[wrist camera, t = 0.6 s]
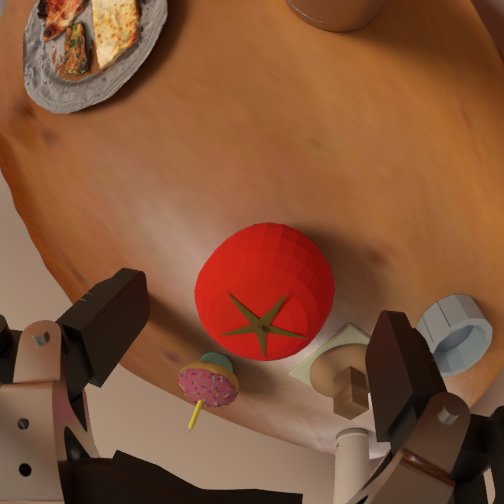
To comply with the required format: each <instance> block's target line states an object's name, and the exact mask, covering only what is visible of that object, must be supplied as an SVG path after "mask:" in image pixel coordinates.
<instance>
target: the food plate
mask: <svg viewBox="0 0 504 504" xmlns="http://www.w3.org/2000/svg"><path fill="white" fill-rule="evenodd" d="M167 13H168V11H167V0H89V1H88V2H87V3H86V0H36V2H35V6H34V8H33V9H32V10H31V12H30V15H29V20H28V23H27V25H26V28H25V30H24V35H23V36H24V37H23V39H24V41H23V60H24V61H23V64H24V65H23V71H24V74H23V75H24V84H25V87H26V90H27V93H28V94H29V96H30V97H31V98H32V99H33V101H34V102H36V103H37V104H38V105H39V106H41V107H43V108H45V109H46V110H48V111H51V112H52V113H62V114H63V113H68V114H69V113H71V112H75V111H78V110H81V109H83V108H86V107H89V106H91V105H93V104H96V103H98V102H99V101H100V102H101V101H103V100H105V99H107V98H110V97H111V96H112V95H113V94H115V92H116V91H117V90H119V89H120V88H121V87H122V85H123V84H124V83H126V82H127V80H129V78H131V76H132V75H133V74H134V73H135V71H137V70H138V69H139V67H140V66H141V65H142V64H143V62H144V61H145V58H147V57H148V54H149V53H150V51H151V50H152V48H153V47H154V45H155V42H156V40H157V39H158V37H159V34H160V32H161V30H162V27H163V25H164V23H165V21H166V19H167ZM92 39H93V40H94V42H95V44H96V48H97V50H96V53H97V57H98V62H99V64H100V68H99V69H100V70H101V71H99V72H97V73H95V74H92V75H90V76H87V77H86V78H82V79H81V80H79V81H71V80H66V79H64V78H63V79H60V78H59V75H58V74H59V71H58V73H57V74H55V68H54V67H56V66H55V65H54V64H53V63H52V64H51V62H53V60H52V58H51V57H52V54H53V53H54V50H56V49H57V55H56V54H55V55H56V63H57V61H58V60H59V62H58V63H60V54H61V55H62V57H63V56H64V59H62V60H63V61H64V63H63V62H61V63H60V65H61V64H62V63H63V64H64V66H63V70H64V73H65V74H67V75H69V73H70V74H73V76H79V75H82V74H83V73H85V72H86V71H87V70H88V68H87V67H88V61H89V57H88V53H89V48H92V45H91V41H92ZM50 43H51V44H50ZM89 45H91V46H89ZM52 46H54V48H52ZM47 52H48V55H47ZM51 53H52V54H51ZM49 55H50V56H49ZM47 56H48V58H47ZM49 58H50V59H51V62H50V60H49ZM56 63H55V64H56ZM50 65H51V67H50ZM57 67H58V65H57ZM60 70H61V69H60ZM62 76H63V74H62Z"/></svg>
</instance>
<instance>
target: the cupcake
mask: <svg viewBox="0 0 504 504" xmlns="http://www.w3.org/2000/svg"><path fill="white" fill-rule="evenodd" d="M178 377H179V380H178V381H179V384H180V388H182V390H183V392H184V394H185V395H187V397H188V398H189V399H191V400H193V401H195V403H197V406H196V409H195V411H194V414H193V416H192V419H191V422H190V424H189V427H188V428H190V429H189V432H188V434H189V433H190V430H191V429H193V428H194V425H195V422H196V420H197V417H198V414H199V412H200V409H201V407H202V405H203V406H205V407H206V406H207V407H220V406H225V405H229V404H230V403H231V402H232V401H234V399H235V398H236V397H237V394H238V391H239V383H238V380H237V377H236V376H235V375H234V374H233V367H232V363H231V361H230V360H229V359H228V358H227V357H226V356H224V355H222V354H220V353H215V352H209V353H206V354H204V355H203V356H202V357H201V358H200V359H199V360H198V361H193V362H190V363H188V364H187V365H185V366H184V367H183V368H182V369H181V370H180V373H179V375H178Z"/></svg>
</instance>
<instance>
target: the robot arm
mask: <svg viewBox="0 0 504 504" xmlns="http://www.w3.org/2000/svg"><path fill="white" fill-rule="evenodd" d="M386 1H387V0H286V2H287V4H288V6H289V7H290V9H291V10H292V11H293V12H294V13H295V14H296V15H297V16H298V17H299V18H300V19H302V20H303V21H305V22H306V23H308V24H310V25H312V26H314V27H317V28H320V29H323V30H327V31H334V32H347V31H352V30H356V29H359V28H361V27H364V26H365V25H366V24H368V23H369V22H371V20H372V19H373V18H374V17H375V15H376V14H377V13H378V11H379V10H380V8H381V7H382V6H383V5H384V3H385V2H386ZM148 317H149V303H148V293H147V283H146V276H145V273H144V272H143V271H138V270H133V269H128V268H122V269H121V270H119V271H118V272H117V273H116V274H115V275H114V276H113V277H111V278H109V279H107V280H104V281H102V282H100V283H98V284H96V285H95V286H94V287H93V288H92V289H90V290H89V291H88V294H85V295H84V296H83V297H81V300H78V301H77V302H76V303H75V304H74V305H73V306H72V307H71V308H69V309H68V310H67V311H66V312H65V313H64V314H63V315H62V316H61V317H60V318H59V319H58V320H57V321H55V322H53V321H49V320H42V321H38V322H35V323H32V324H31V325H29V326H28V327H26V328H25V329H24V331H18V330H11V329H9V327H8V324H7V322H6V319H5V318H4V316H2V315H0V504H302V498H303V494H298V493H286V492H275V491H267V490H260V489H237V490H207V489H201V488H198V487H196V486H194V485H192V484H190V483H188V482H186V481H184V480H183V479H181V478H179V477H177V476H175V475H173V474H172V473H170V472H168V471H167V470H165V469H163V468H162V467H160V466H158V465H156V464H153V463H150V462H147V461H144V460H142V459H139V458H136V457H134V456H131V455H129V454H126V453H124V452H121V451H119V450H117V451H116V452H115V454H114V456H113V458H112V459H111V458H100V455H99V452H98V450H97V448H96V446H95V443H94V440H93V436H92V430H91V425H90V418H89V412H88V405H87V397H86V392H85V389H84V387H85V386H86V385H87V383H90V384H92V385H95V386H97V387H99V388H101V386H102V385H103V384H104V382H105V381H106V379H107V378H108V376H109V375H110V374H111V372H112V371H113V369H114V368H115V367H116V365H117V364H118V362H119V361H120V360H121V358H122V357H123V355H124V354H125V353H126V351H127V350H128V348H129V347H130V346H131V344H132V343H133V342H134V340H135V339H136V337H137V336H138V335H139V333H140V332H141V331H142V329H143V328H144V327H145V325H146V323H147V321H148ZM365 365H366V370H367V376H368V382H369V388H370V394H371V400H372V407H373V414H374V421H375V429H376V437H377V442H390V445H391V449H390V450H389V451H388V452H387V454H386V455H385V456H384V458H383V459H382V461H381V462H380V464H379V465H378V466H377V468H376V469H375V470H374V472H373V473H372V474H371V475H370V477H369V478H368V479H367V481H366V482H365V483H364V484H363V486H362V487H361V488H360V489H359V490H358V492H357V493H356V494H355V495H354V496H353V497H352V498H351V499H350V500H349V501H348V502H347V503H346V504H488V500H487V493H486V486H485V481H484V476H483V473H484V472H485V471H487V470H488V469H489V468H490V467H491V472H492V476H493V482H494V487H495V499H494V502H493V504H504V406H500V407H498V408H497V409H496V410H495V411H494V412H493V413H492V415H491V416H490V417H485V416H481V415H476V414H471V413H470V410H469V407H468V405H467V404H466V403H465V401H464V400H463V399H461V398H460V397H459V396H457V395H455V394H453V393H449V392H447V389H446V386H445V384H444V381H443V379H442V376H441V374H440V371H439V369H438V366H437V364H436V362H435V361H434V357H433V355H432V352H430V348H429V346H428V343H427V341H426V339H425V338H424V337H423V336H422V334H421V333H420V332H419V331H418V330H417V329H416V328H412V327H411V325H410V323H409V320H408V318H407V316H406V314H405V313H404V312H396V311H387V310H383V311H382V312H381V313H380V315H379V318H378V321H377V323H376V326H375V328H374V331H373V334H372V336H371V339H370V341H369V343H368V346H367V349H366V355H365Z"/></svg>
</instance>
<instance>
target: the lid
mask: <svg viewBox="0 0 504 504" xmlns="http://www.w3.org/2000/svg"><path fill="white" fill-rule="evenodd" d="M367 346H368V345H367V344H361V343H350V344H343V345H339V346H336V347H333V348H331V349H329V350H327V351H325V352H323V353H322V354H321V355H319V356H318V357H317V358H316V359H315V361H314V362H313V364H312V366H311V369H310V382H311V384H312V386H313V388H314V389H315V390H316V391H318V392H319V393H321V394H322V395H325V396H328V397H331V398H333V400H334V413H335V414H338V415H340V416H342V417H345V418H347V419H349V420H352V419H353V418H355V417H357V416H359V415H360V414H362V413H364V412H366V411H367V410H369V402H368V393H369V392H370V388H369V382H368V376H367V370H366V365H365V355H366V349H367Z"/></svg>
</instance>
